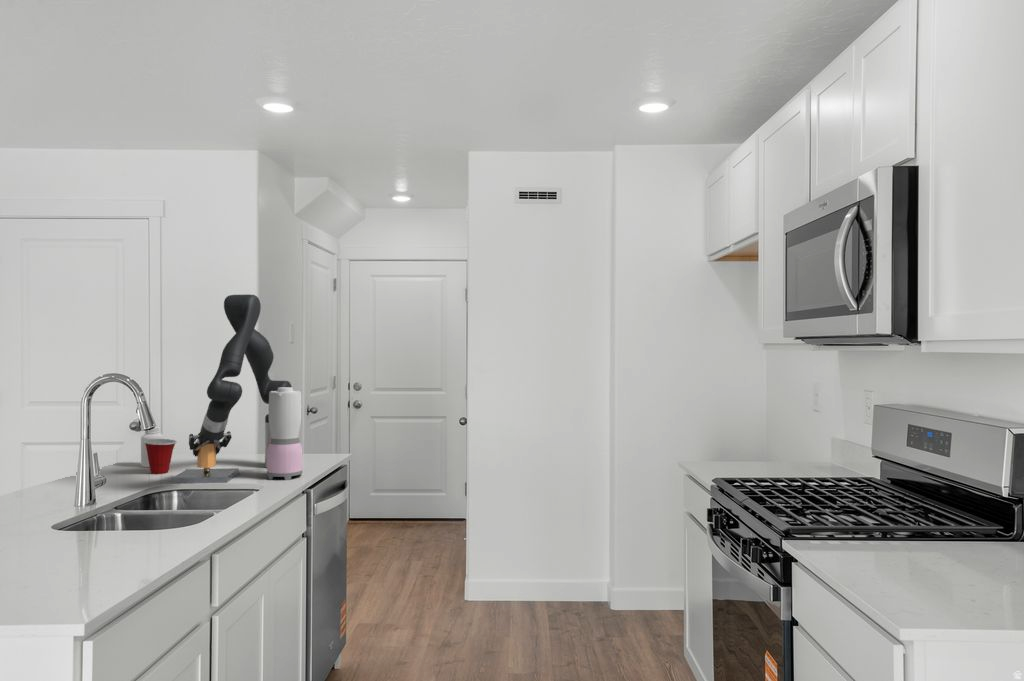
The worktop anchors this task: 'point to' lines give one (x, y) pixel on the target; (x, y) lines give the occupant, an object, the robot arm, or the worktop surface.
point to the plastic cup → (159, 454)
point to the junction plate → (205, 476)
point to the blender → (284, 434)
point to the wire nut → (207, 456)
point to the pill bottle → (149, 435)
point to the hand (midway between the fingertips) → (205, 453)
